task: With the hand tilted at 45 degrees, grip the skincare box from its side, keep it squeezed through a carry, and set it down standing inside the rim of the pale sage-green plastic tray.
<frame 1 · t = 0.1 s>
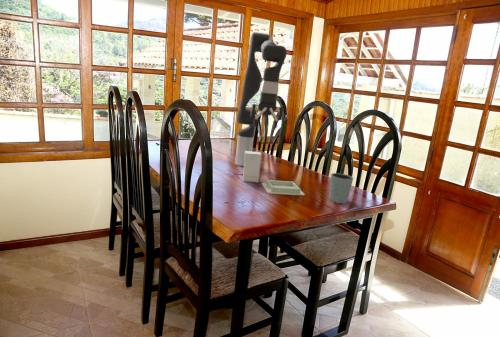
hand: (264, 128, 160), 29 cm above the table, tool pointing down, fingers open, 8 cm apart
tray: (282, 189, 171), on the table
skincare box: (250, 180, 180), on the table
grey plant pot: (337, 200, 165), on the table
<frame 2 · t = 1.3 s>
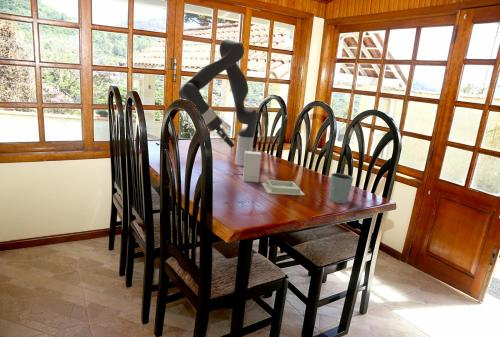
hand: (231, 144, 173), 18 cm above the table, tool tilted 45°, fingers open, 8 cm apart
nothing on the table moved.
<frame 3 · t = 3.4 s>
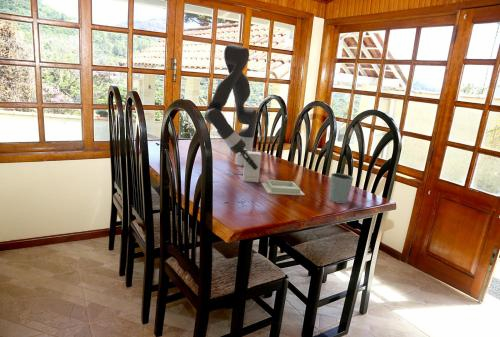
hand: (254, 166, 178), 7 cm above the table, tool tilted 45°, fingers closed on skincare box, 6 cm apart
skincare box: (250, 180, 180), on the table, touching gripper
everything else where it was.
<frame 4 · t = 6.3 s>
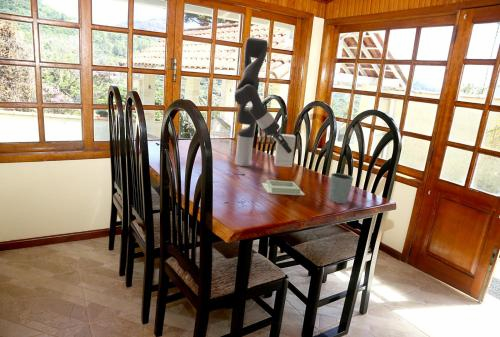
hand: (288, 150, 167), 19 cm above the table, tool tilted 45°, fingers closed on skincare box, 6 cm apart
skincare box: (282, 165, 168), point 12 cm above the table, touching gripper
everything else where it was.
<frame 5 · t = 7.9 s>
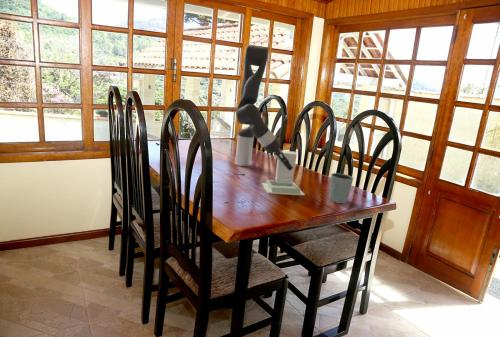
hand: (288, 167, 168), 11 cm above the table, tool tilted 45°, fingers closed on skincare box, 6 cm apart
skincare box: (283, 182, 170), point 4 cm above the table, touching gripper
everything else where it was.
when the fingers open (9 cm above the table, at t = 8.9 s): skincare box drops 1 cm, resting on tray.
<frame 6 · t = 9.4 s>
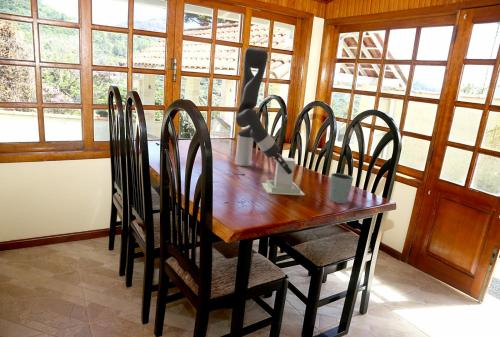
hand: (287, 170, 169), 10 cm above the table, tool tilted 45°, fingers open, 8 cm apart
skincare box: (281, 188, 171), resting on tray
everything else where it was.
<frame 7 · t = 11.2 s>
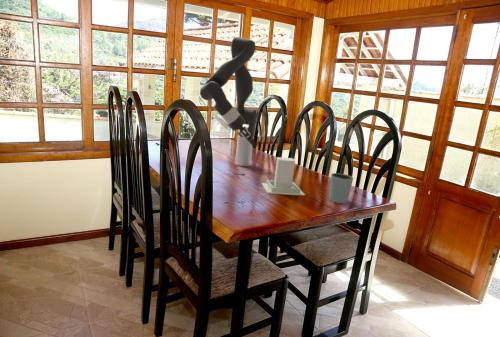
hand: (254, 144, 170), 20 cm above the table, tool tilted 45°, fingers open, 8 cm apart
nothing on the table moved.
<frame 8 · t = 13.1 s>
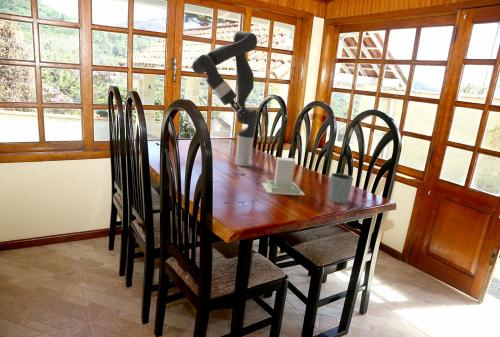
hand: (245, 119, 173), 31 cm above the table, tool tilted 45°, fingers open, 8 cm apart
nothing on the table moved.
at the end: skincare box inside the target area on the tray (0.4 cm from its centre), point 0.4 cm above the tray's base; skincare box tilted 0°; the gripper is holding nothing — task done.
